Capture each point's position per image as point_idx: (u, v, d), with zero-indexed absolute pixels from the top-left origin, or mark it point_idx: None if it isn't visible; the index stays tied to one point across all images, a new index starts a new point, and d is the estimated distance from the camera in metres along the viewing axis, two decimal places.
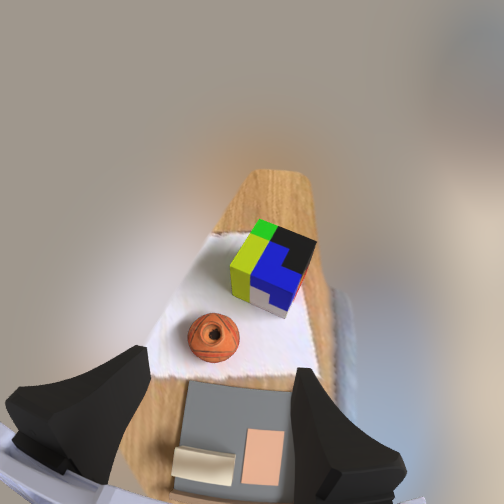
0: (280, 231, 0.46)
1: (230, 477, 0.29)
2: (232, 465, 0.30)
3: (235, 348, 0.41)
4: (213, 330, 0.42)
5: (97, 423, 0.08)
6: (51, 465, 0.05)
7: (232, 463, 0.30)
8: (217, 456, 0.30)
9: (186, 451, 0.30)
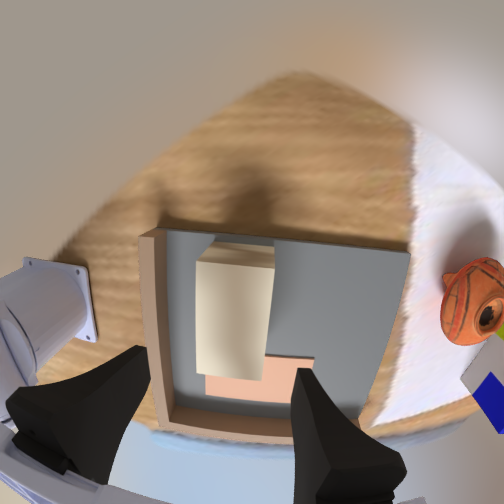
0: None
1: (216, 374, 0.18)
2: (244, 378, 0.18)
3: (455, 343, 0.19)
4: (492, 312, 0.17)
5: (97, 423, 0.08)
6: (51, 465, 0.05)
7: (248, 378, 0.18)
8: (262, 354, 0.17)
9: (268, 295, 0.16)
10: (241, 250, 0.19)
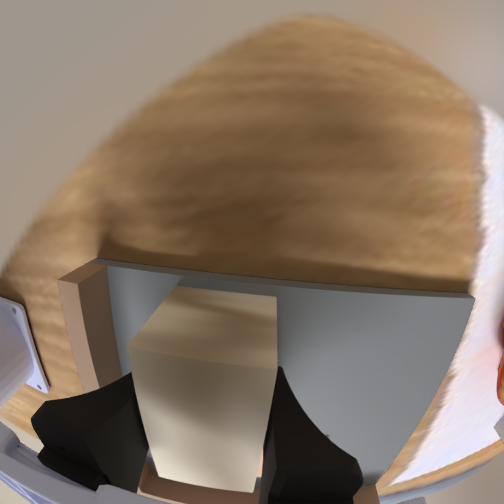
0: None
1: (186, 481, 0.10)
2: (227, 488, 0.10)
3: None
4: None
5: (129, 434, 0.08)
6: (51, 465, 0.05)
7: (234, 489, 0.10)
8: (254, 470, 0.09)
9: (264, 407, 0.08)
10: (219, 309, 0.11)
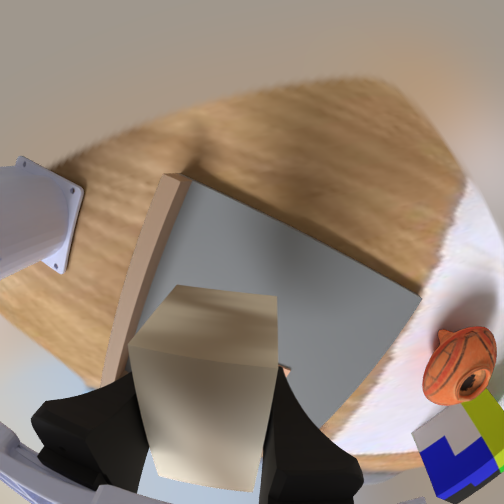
0: (495, 475, 0.15)
1: (186, 481, 0.10)
2: (227, 488, 0.10)
3: (429, 399, 0.18)
4: (473, 380, 0.16)
5: (129, 434, 0.08)
6: (51, 465, 0.05)
7: (234, 489, 0.10)
8: (254, 469, 0.09)
9: (264, 406, 0.08)
10: (220, 308, 0.11)
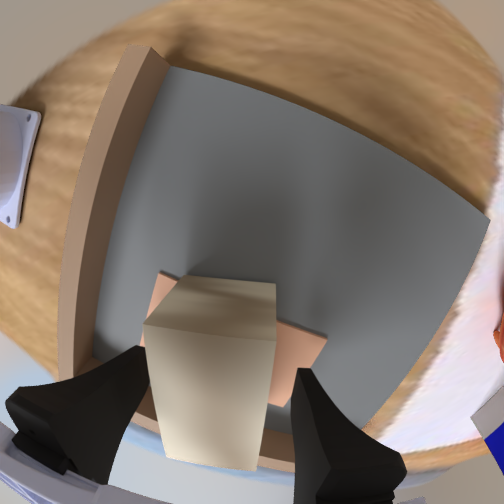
0: None
1: (193, 461, 0.11)
2: (231, 467, 0.11)
3: None
4: None
5: (97, 423, 0.08)
6: (51, 465, 0.05)
7: (238, 468, 0.11)
8: (257, 446, 0.10)
9: (265, 379, 0.09)
10: (224, 293, 0.12)
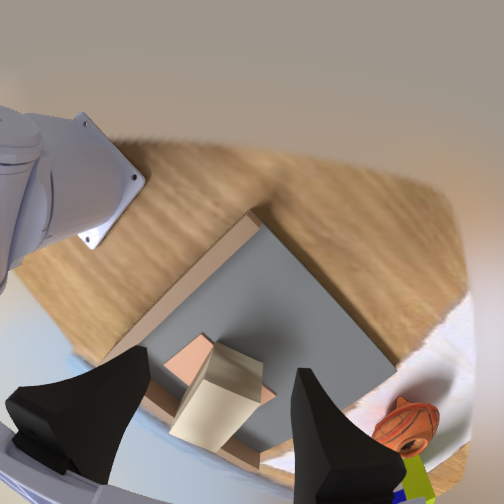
0: None
1: (184, 438, 0.20)
2: (204, 447, 0.20)
3: None
4: (412, 444, 0.21)
5: (97, 423, 0.08)
6: (51, 465, 0.05)
7: (207, 448, 0.20)
8: (225, 440, 0.20)
9: (247, 414, 0.19)
10: (238, 365, 0.21)
